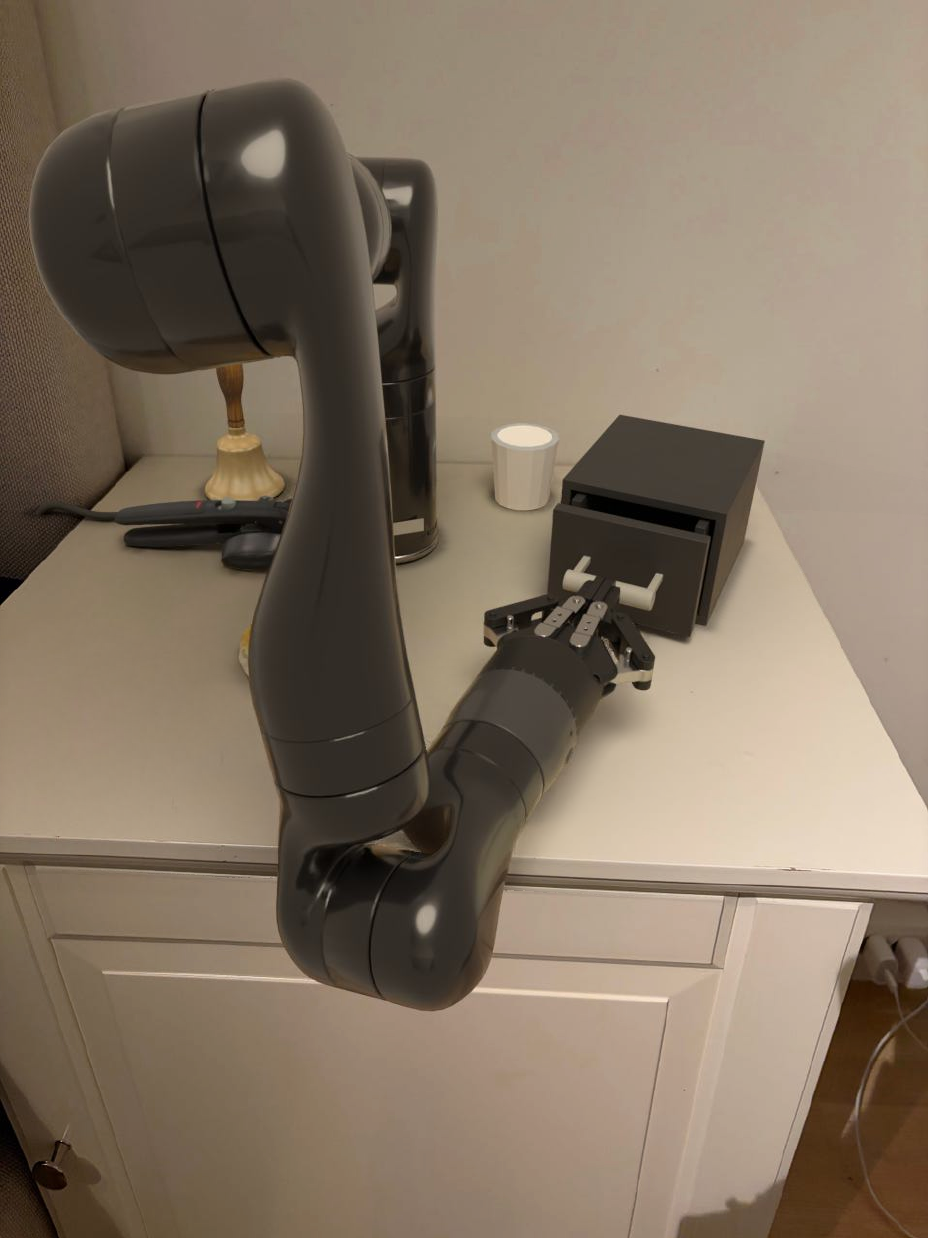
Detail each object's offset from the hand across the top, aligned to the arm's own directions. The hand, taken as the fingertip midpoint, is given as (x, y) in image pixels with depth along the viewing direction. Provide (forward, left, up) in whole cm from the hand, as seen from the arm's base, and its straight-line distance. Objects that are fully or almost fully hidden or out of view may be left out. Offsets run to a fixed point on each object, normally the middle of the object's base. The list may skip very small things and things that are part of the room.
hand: (605, 587), depth 71 cm
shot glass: (-16, +23, -7) cm, 29 cm away
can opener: (-38, 0, -7) cm, 39 cm away
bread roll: (-21, -11, -7) cm, 25 cm away
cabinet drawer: (0, +9, -6) cm, 11 cm away
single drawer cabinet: (0, +16, -7) cm, 17 cm away
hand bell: (-43, +12, -7) cm, 45 cm away
